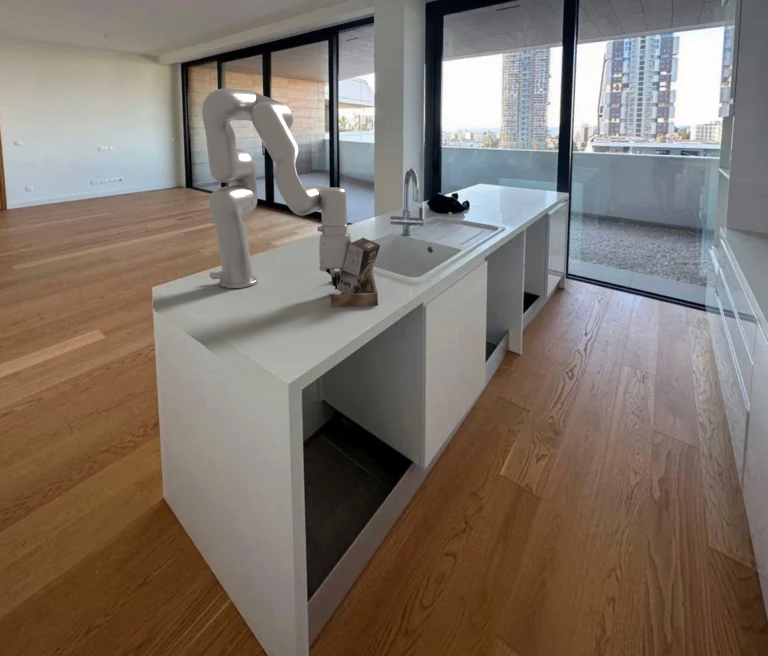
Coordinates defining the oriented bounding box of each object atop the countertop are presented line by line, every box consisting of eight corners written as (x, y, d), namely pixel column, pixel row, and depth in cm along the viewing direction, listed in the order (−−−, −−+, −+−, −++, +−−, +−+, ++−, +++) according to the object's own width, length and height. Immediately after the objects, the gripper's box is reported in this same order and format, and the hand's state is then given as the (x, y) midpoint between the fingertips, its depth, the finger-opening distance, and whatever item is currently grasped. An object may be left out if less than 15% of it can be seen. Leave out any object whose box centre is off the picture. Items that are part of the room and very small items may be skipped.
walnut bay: (330, 307, 146) (330, 295, 144) (331, 281, 169) (331, 271, 168) (377, 304, 147) (377, 293, 145) (372, 279, 170) (371, 269, 169)
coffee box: (354, 299, 152) (367, 251, 144) (336, 290, 154) (349, 242, 146) (367, 290, 160) (381, 244, 152) (350, 282, 161) (363, 236, 154)
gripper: (309, 233, 146) (313, 292, 153) (360, 232, 147) (361, 291, 154) (310, 228, 153) (314, 285, 160) (359, 227, 154) (360, 283, 161)
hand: (337, 288), depth 157 cm, fingers closed
